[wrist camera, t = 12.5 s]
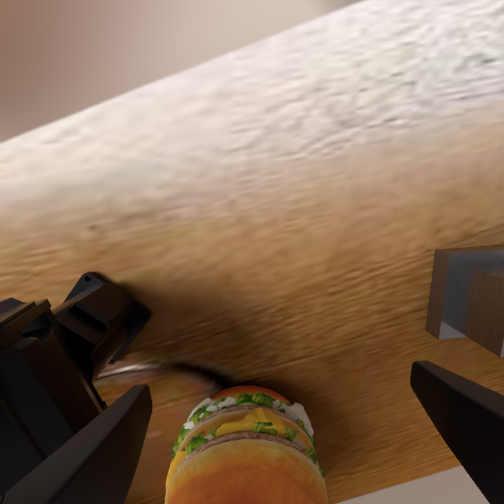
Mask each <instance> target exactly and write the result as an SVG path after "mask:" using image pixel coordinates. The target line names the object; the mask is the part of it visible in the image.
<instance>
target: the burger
mask: <svg viewBox="0 0 504 504" xmlns="http://www.w3.org/2000/svg"><path fill="white" fill-rule="evenodd" d="M313 433H314V431H313V429H312V426H311V423H310V420H309V418H308V416H307V414H306V412H305V410H304V407H303V405H301V404H299V403H296V402H295V403H294V405H292V404H291V403H290V402H289V401H288V400H287V399H286V398H284V397H283V396H282V395H280V394H279V393H277V392H275V391H272V390H270V389H268V388H264V387H258V386H253V385H249V386H235V387H232V388H228V389H224V390H222V391H220V392H218V393H216V394H214V395H212V396H211V397H209V398H206V399H205V400H204V401H203V402H201V403H200V404H199V405H198V406H197V407H195V408H194V409H193V411H192V413H191V414H190V416H189V418H188V420H187V422H186V423H185V424H184V425H183V427H182V429H181V431H180V434H179V437H178V442H174V444H173V445H174V448H173V450H174V452H175V454H172V457H173V459H172V462H171V465H170V468H169V472H168V476H167V481H166V497H165V504H328V499H327V492H326V486H325V474H324V472H323V471H324V470H323V469H322V468H321V467H319V464H318V458H317V455H316V453H315V450H314V448H313V446H314V445H315V444H316V443H315V442H314V438H313V437H312V436H313Z"/></svg>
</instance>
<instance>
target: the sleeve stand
mask: <svg viewBox="0 0 504 504" xmlns="http://www.w3.org/2000/svg"><path fill="white" fill-rule="evenodd" d="M426 331H428V332H429V333H430V334H432V335H433V336H435V337H436V338H437V339H451V338H463V337H468V338H470V339H472V340H473V341H475V342H477V343H478V344H480V345H481V346H483V347H485V348H486V349H488V350H490V351H491V352H493V353H494V354H496V355H498V356H499V357H504V245H495V246H481V247H468V248H454V249H440V250H435V258H434V267H433V276H432V284H431V293H430V302H429V310H428V319H427V328H426Z"/></svg>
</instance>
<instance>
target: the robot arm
mask: <svg viewBox="0 0 504 504" xmlns="http://www.w3.org/2000/svg"><path fill="white" fill-rule="evenodd" d="M88 276H89V277H90V278H91V280H89V279H88ZM50 307H51V305H50V303H49V301H48V299H44V300H41V301H38V302H34V301H33V302H29V303H26V302H21V301H19V300H16V299H14V298H8V299H5V300H2V301H0V504H124V502H125V499H126V497H127V494H128V491H129V488H130V486H131V483H132V480H133V477H134V474H135V471H136V468H137V465H138V462H139V458H140V455H141V451H142V447H143V443H144V440H145V436H146V432H147V428H148V425H149V421H150V417H151V413H152V399H151V394H150V389H149V386H148V385H147V384H140V385H135V386H133V387H132V388H131V389H129V390H128V391H127V392H126V393H125V394H123V395H122V396H121V397H120V398H119V399H117V400H116V401H115V402H114V403H113V404H111V405H110V406H109V407H108V406H107V404H106V403H105V401H104V402H103V401H102V399H101V398H100V396H99V394H98V392H97V391H96V389H95V387H94V385H93V381H94V380H95V379H96V378H97V376H98V375H99V374H100V373H101V371H102V370H103V369H104V368H105V366H106V365H107V364H114V363H115V362H116V361H117V360H118V358H119V357H120V356H121V354H122V353H123V352H124V351H125V349H126V348H127V347H128V345H129V344H130V343H131V342H132V340H133V339H134V338H135V336H136V335H137V334H138V333H139V331H140V330H141V329H142V327H143V326H144V325H145V324H146V322H147V321H148V320H149V319H150V317H151V315H152V312H151V311H150V310H149V309H148V308H146V307H145V306H143V305H142V304H140V303H139V302H137V301H136V300H134V298H133V297H131V296H130V295H128V294H127V293H125V292H124V291H122V290H121V289H119V288H118V287H116V286H115V285H113V284H112V283H110V282H107V281H105V280H104V279H102V278H101V277H99V276H98V275H96V274H95V273H93V272H87V273H85V274H83V275H82V276H81V278H80V279H79V281H78V282H77V284H76V285H75V286H74V288H73V289H72V291H71V292H70V294H69V295H68V297H67V298H66V299H65V301H64V302H63V304H61V305H60V306H58V307H56V308H55V309H53V310H51V309H50ZM143 313H146V314H147V316H144V315H143ZM112 358H113V359H112ZM410 383H411V387H412V389H413V391H414V393H415V394H416V396H417V398H418V399H419V401H420V403H421V404H422V406H423V407H424V409H425V411H426V412H427V414H428V416H429V417H430V419H431V420H432V422H433V424H434V425H435V427H436V429H437V430H438V432H439V433H440V435H441V436H442V438H443V439H444V441H445V442H446V444H447V445H448V447H449V448H450V449H451V451H452V452H453V454H454V455H455V456H456V458H457V459H458V460H459V462H460V463H461V465H462V466H463V467H464V469H465V470H466V471H467V473H468V474H469V475H470V477H471V478H472V480H473V481H474V482H475V484H476V485H477V487H478V488H479V489H480V491H481V492H482V494H483V495H484V496H485V498H486V499H487V500H488V502H489V503H490V504H504V396H503V395H501V394H499V393H497V392H494V391H492V390H490V389H488V388H486V387H483V386H481V385H479V384H477V383H475V382H472V381H470V380H468V379H466V378H464V377H461V376H459V375H457V374H455V373H453V372H450V371H448V370H446V369H444V368H442V367H439V366H437V365H435V364H433V363H431V362H429V361H415V362H413V363H412V369H411V378H410Z"/></svg>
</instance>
